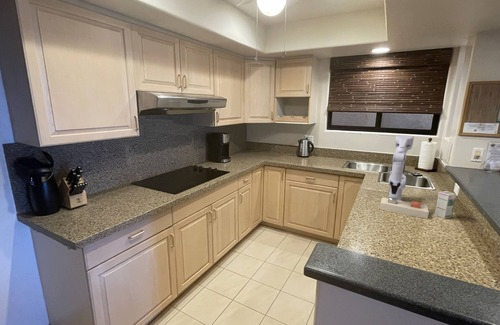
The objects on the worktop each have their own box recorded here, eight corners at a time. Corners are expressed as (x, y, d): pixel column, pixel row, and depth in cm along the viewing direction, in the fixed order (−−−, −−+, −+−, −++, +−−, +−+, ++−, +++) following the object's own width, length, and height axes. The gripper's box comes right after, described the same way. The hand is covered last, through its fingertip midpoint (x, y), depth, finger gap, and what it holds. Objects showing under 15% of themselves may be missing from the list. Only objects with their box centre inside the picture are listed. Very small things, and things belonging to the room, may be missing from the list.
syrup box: (444, 218, 138) (449, 194, 135) (434, 214, 144) (438, 191, 141) (451, 217, 140) (457, 193, 137) (441, 213, 145) (446, 190, 142)
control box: (381, 203, 160) (382, 197, 159) (425, 211, 148) (427, 205, 147) (379, 209, 150) (380, 202, 149) (427, 218, 138) (428, 212, 137)
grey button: (387, 203, 155) (388, 196, 154) (396, 204, 152) (397, 198, 151) (386, 205, 151) (387, 198, 150) (396, 207, 148) (397, 200, 147)
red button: (409, 207, 149) (410, 200, 148) (419, 209, 146) (421, 202, 145) (409, 210, 145) (411, 203, 144) (420, 212, 142) (421, 205, 141)
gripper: (390, 169, 155) (387, 189, 158) (388, 174, 143) (385, 195, 146) (403, 170, 152) (399, 191, 154) (402, 175, 140) (399, 198, 142)
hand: (393, 193), depth 150 cm, fingers closed
